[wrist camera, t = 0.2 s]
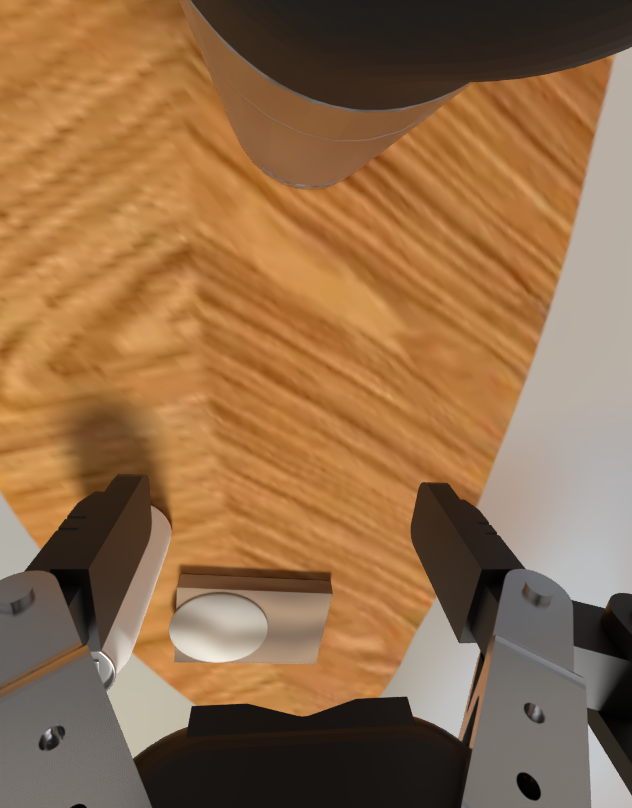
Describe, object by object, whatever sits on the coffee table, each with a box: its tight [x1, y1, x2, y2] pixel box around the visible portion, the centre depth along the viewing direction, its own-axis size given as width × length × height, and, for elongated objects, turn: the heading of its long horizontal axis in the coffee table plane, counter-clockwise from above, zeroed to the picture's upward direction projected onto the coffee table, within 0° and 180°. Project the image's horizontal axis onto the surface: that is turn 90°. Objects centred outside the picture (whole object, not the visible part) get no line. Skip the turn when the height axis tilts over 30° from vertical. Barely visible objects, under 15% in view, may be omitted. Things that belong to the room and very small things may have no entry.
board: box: [169, 574, 333, 664], centre depth 38 cm, size 10×14×2 cm
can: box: [91, 505, 172, 691], centre depth 28 cm, size 6×6×12 cm
